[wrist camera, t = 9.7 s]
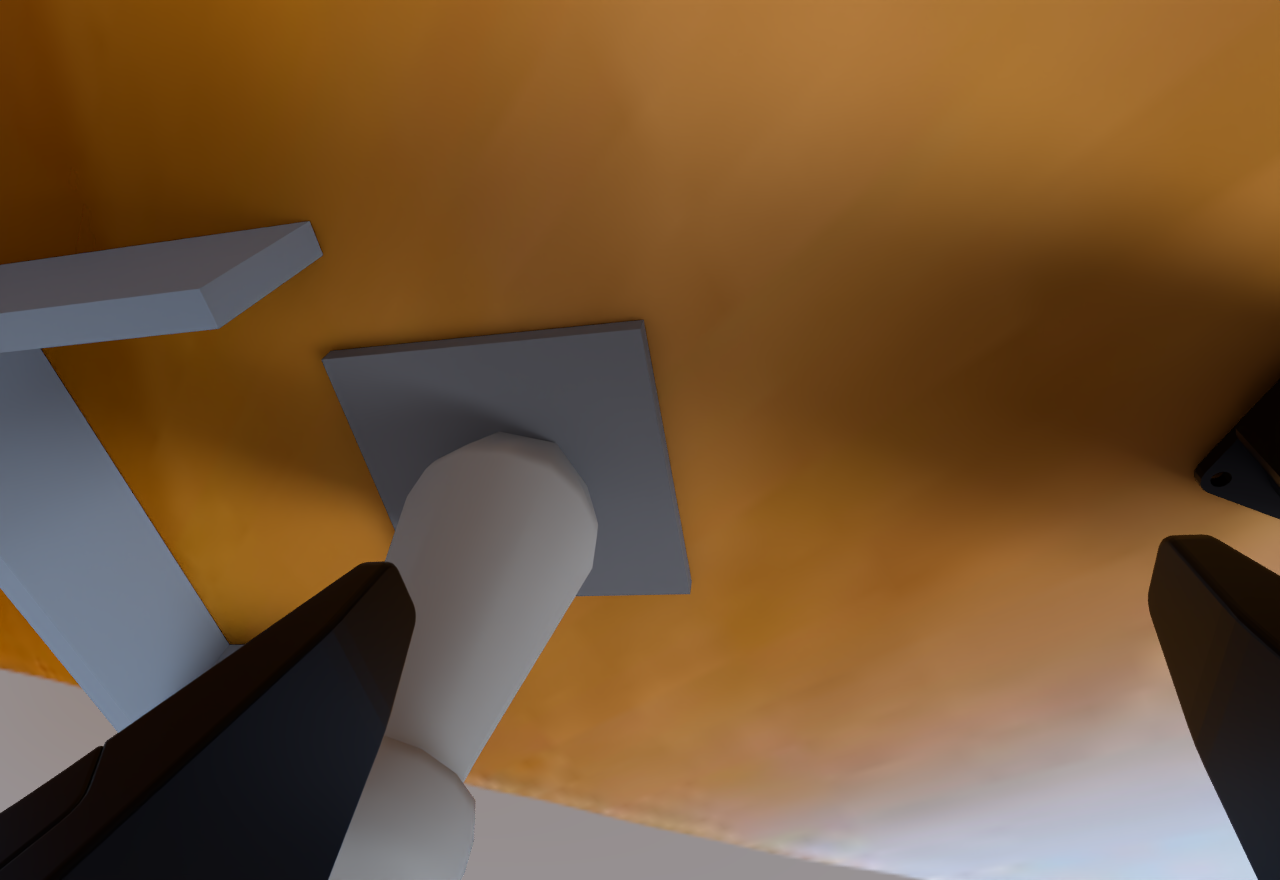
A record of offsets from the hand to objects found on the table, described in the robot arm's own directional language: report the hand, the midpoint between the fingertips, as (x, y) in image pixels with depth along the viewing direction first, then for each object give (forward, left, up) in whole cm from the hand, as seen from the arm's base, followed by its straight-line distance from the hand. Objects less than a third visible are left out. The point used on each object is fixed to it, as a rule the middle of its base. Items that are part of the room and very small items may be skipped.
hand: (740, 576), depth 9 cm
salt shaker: (+4, +10, -13) cm, 17 cm away
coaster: (+4, +10, -13) cm, 17 cm away
